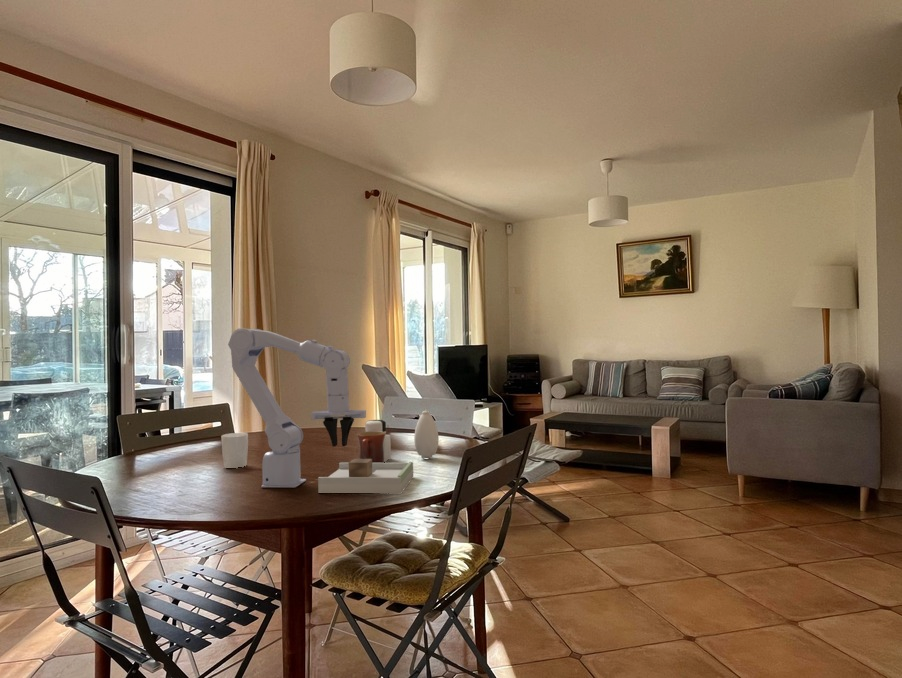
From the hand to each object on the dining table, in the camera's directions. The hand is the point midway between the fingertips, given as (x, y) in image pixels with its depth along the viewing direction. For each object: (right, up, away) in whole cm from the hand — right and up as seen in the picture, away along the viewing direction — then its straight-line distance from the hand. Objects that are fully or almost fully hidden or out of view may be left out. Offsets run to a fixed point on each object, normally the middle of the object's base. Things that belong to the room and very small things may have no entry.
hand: (339, 445), depth 150 cm
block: (+6, -8, -1) cm, 10 cm away
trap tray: (+8, -10, -1) cm, 13 cm away
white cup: (-38, -12, +26) cm, 48 cm away
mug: (+5, -11, +19) cm, 23 cm away
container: (+6, -11, +31) cm, 33 cm away
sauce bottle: (+22, -11, +32) cm, 40 cm away
